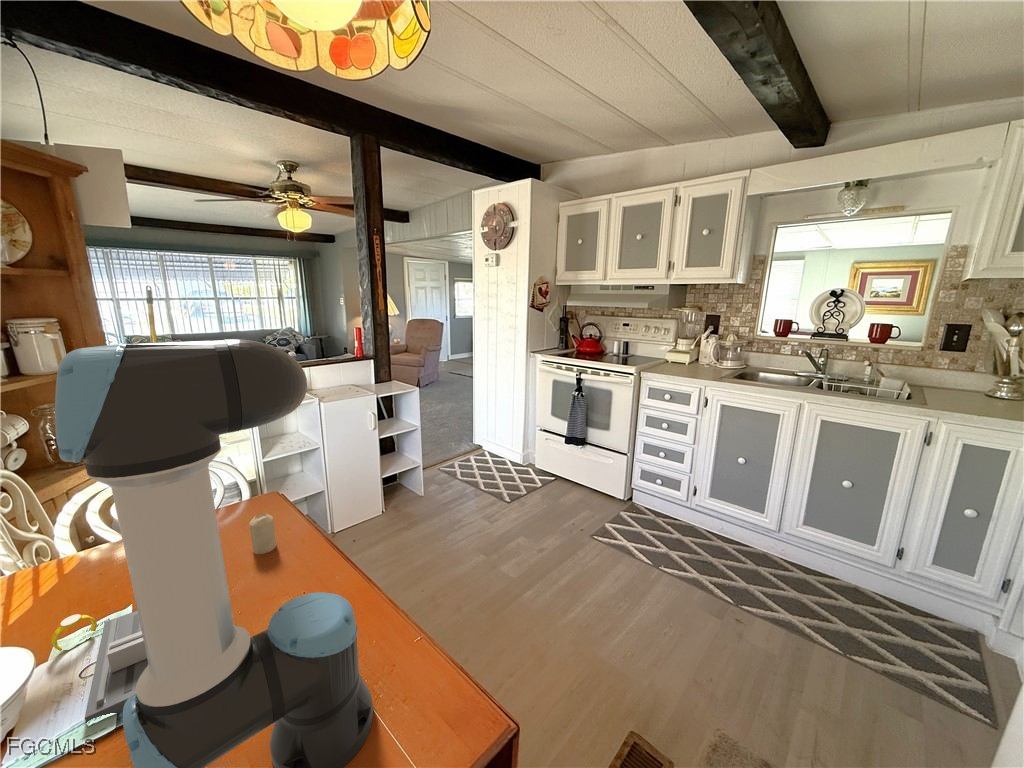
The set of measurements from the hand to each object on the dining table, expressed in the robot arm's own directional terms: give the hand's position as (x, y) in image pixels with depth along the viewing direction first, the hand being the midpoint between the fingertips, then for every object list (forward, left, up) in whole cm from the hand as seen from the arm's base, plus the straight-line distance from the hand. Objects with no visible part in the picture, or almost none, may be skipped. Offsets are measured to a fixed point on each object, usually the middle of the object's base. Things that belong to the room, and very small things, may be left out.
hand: (177, 548), depth 88 cm
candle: (+10, -17, -13) cm, 24 cm away
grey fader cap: (-16, +8, -11) cm, 21 cm away
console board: (-13, +4, -13) cm, 19 cm away
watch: (-2, +17, -13) cm, 22 cm away
